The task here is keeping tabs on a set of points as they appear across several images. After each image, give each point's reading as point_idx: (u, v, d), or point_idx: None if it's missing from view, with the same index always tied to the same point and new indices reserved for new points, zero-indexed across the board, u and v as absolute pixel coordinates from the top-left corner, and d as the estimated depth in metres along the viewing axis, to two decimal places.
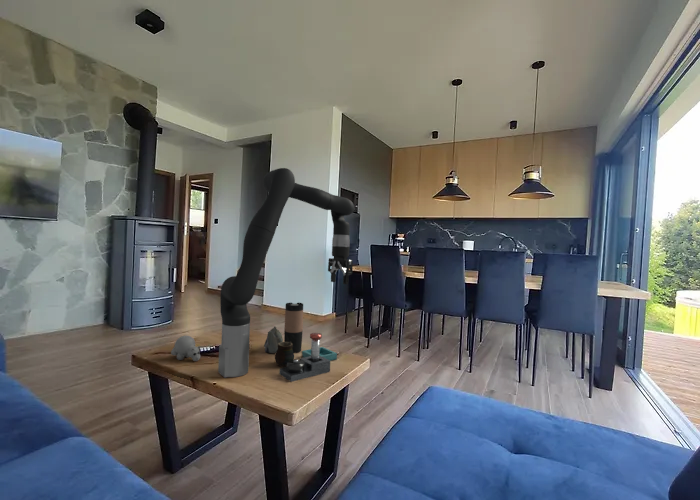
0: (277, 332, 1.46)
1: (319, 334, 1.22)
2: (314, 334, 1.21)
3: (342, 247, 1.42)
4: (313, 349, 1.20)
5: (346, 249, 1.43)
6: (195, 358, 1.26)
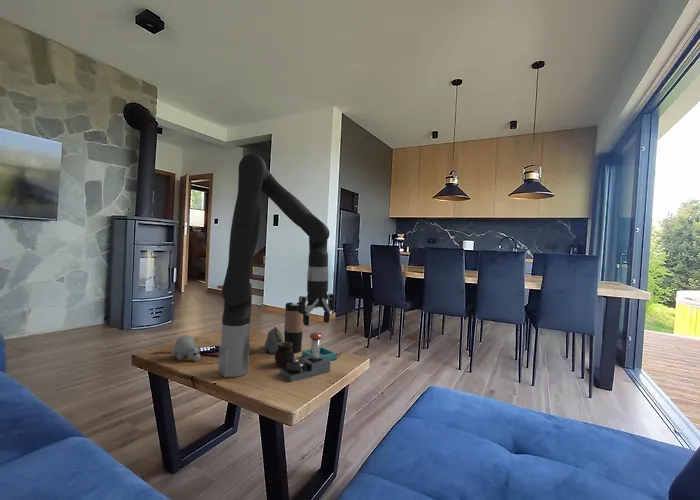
0: (277, 332, 1.46)
1: (319, 334, 1.22)
2: (314, 334, 1.21)
3: None
4: (313, 349, 1.20)
5: None
6: (195, 358, 1.26)
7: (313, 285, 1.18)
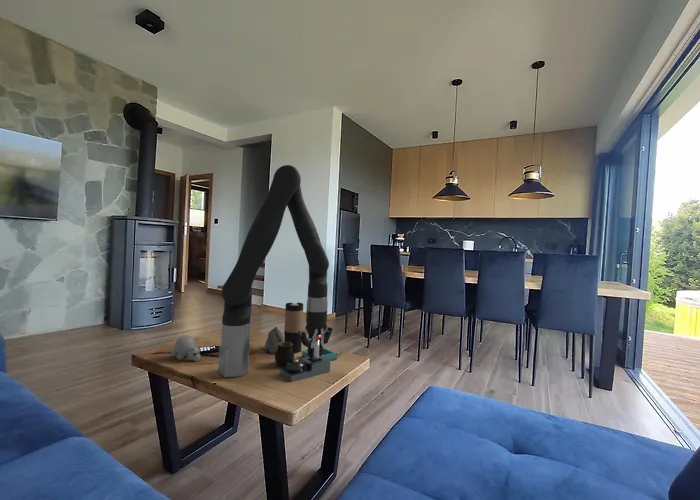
0: (278, 332, 1.46)
1: None
2: None
3: None
4: None
5: None
6: (195, 358, 1.26)
7: (312, 316, 1.18)
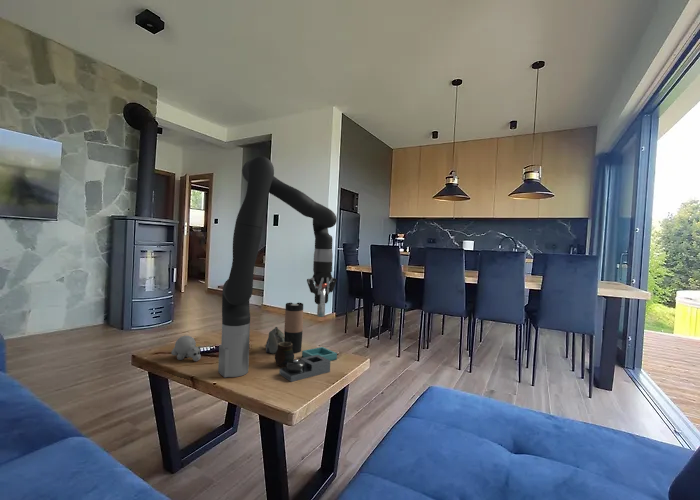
0: (279, 332, 1.46)
1: (325, 283, 1.35)
2: None
3: None
4: (320, 296, 1.34)
5: None
6: (195, 358, 1.26)
7: (319, 265, 1.31)
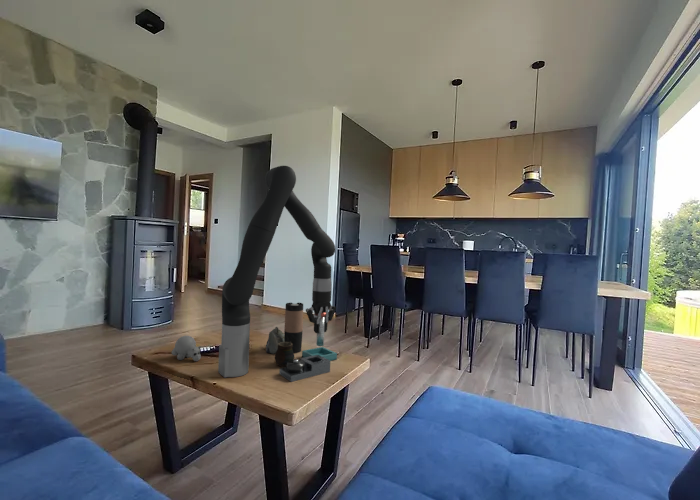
0: (279, 332, 1.45)
1: (324, 312, 1.35)
2: None
3: None
4: (319, 325, 1.34)
5: None
6: (195, 358, 1.26)
7: (318, 295, 1.31)
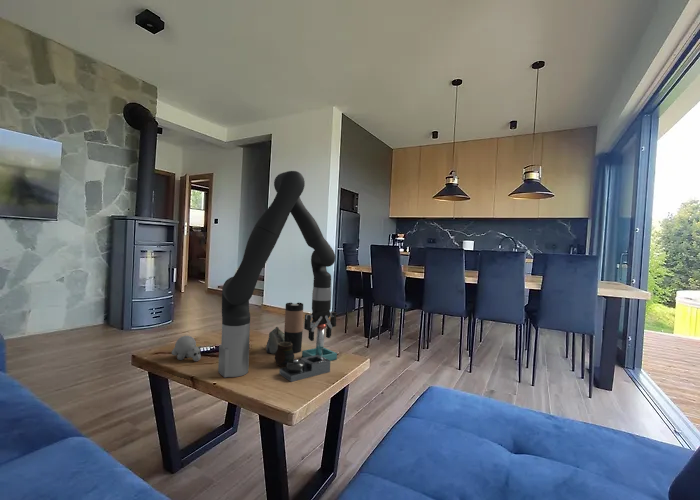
0: (279, 332, 1.45)
1: (324, 324, 1.35)
2: (319, 324, 1.35)
3: None
4: (318, 337, 1.34)
5: None
6: (196, 358, 1.26)
7: (317, 304, 1.32)
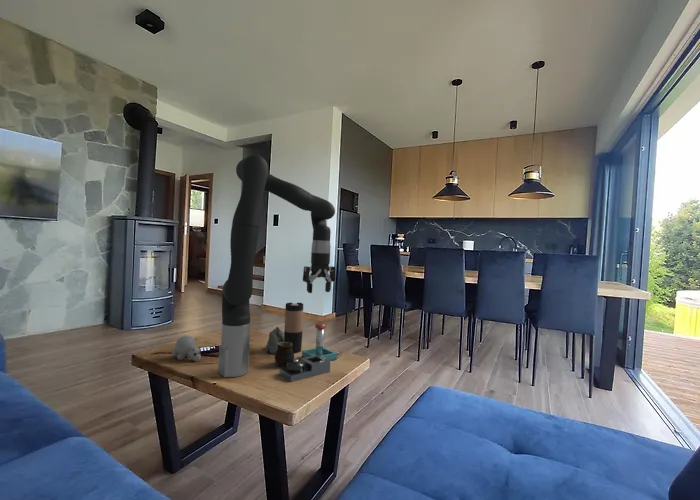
0: (280, 332, 1.45)
1: (323, 324, 1.35)
2: (319, 324, 1.35)
3: None
4: (318, 337, 1.34)
5: None
6: (196, 358, 1.26)
7: (316, 256, 1.31)
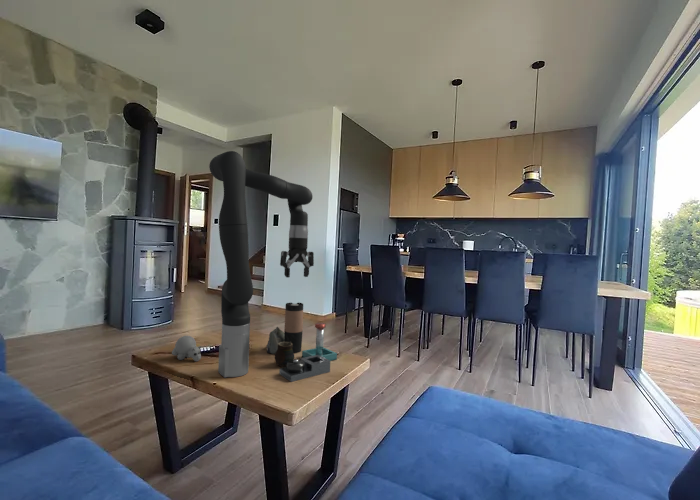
0: (280, 333, 1.45)
1: (323, 324, 1.35)
2: (319, 324, 1.35)
3: None
4: (318, 337, 1.34)
5: None
6: (196, 358, 1.26)
7: (294, 241, 1.33)
